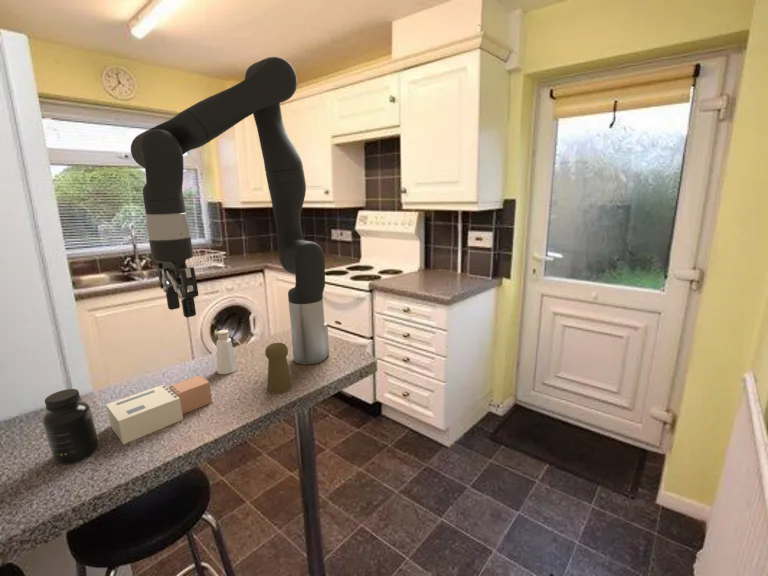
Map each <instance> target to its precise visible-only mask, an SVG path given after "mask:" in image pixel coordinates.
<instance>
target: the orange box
mask: <svg viewBox="0 0 768 576" xmlns="http://www.w3.org/2000/svg"><path fill="white" fill-rule="evenodd" d="M210 383H211V382H210V381H209V380H207V379H205V378H204V377H202V375H198V376H194V377H192V378H191V377H190V378H188V379H185V380H183V381H179V382H177V383H174V384H171V385H169V386H168V388H169V389H170V390H171V391H172V392H173V393H174V394H176V395H177V396H178V397H179V398H180V403H181V409H182V414H183V415H184V414H187V413H189V412H192V411H194V410H196V409H199V408H201V407H204V406H206V405H208V404H211V403H213V398H212V390H211V384H210Z"/></svg>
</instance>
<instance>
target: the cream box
mask: <svg viewBox="0 0 768 576" xmlns="http://www.w3.org/2000/svg"><path fill="white" fill-rule="evenodd" d="M105 407H106V408H105V409H106V410H107V411H106V412H107V416H108V421H109V426H110V427H111V429H112V430H113V432H114V433H115V435H116V436H117V437H118V438H119V440H120V441H121V443H122V445H125V444H127V443H130V442H133V441H136V440H138V439H140V438H142V437H144V436H146V435H149V434H151V433H154V432H157V431H159V430H161V429H164V428H167V427H168V426H171V425H174V424H176V423H178V422H180V421H182V420H184V416H183V415H184V414H182V409H181V403H180V398H179V397H178V396H177V395H176V394H174V393H173V392H172V391H171V390H170V389H169V386H167V385H165V384H161V385H158V386H155V387H153V388H150V389H146V390H142V391H140V392H138V393H135V394H133V395H130V396H126V397H123V398H121V399H117V400H115V401H112V402H109V403H107V404H106V403H105Z"/></svg>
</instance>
